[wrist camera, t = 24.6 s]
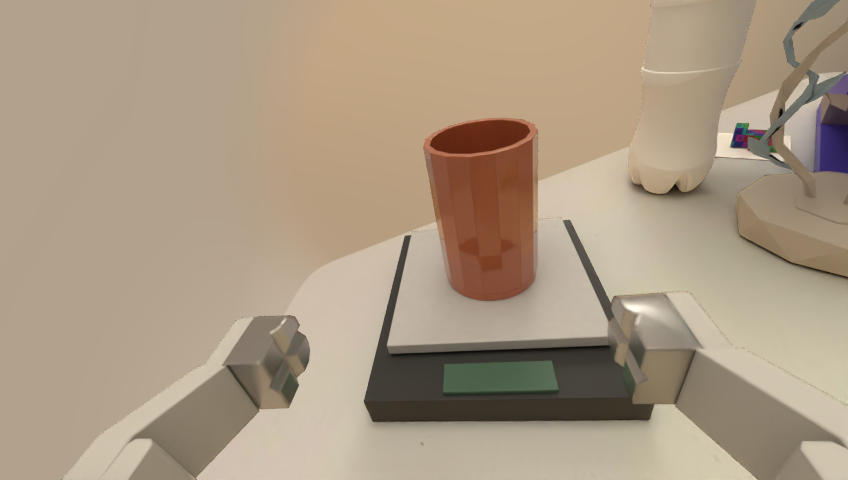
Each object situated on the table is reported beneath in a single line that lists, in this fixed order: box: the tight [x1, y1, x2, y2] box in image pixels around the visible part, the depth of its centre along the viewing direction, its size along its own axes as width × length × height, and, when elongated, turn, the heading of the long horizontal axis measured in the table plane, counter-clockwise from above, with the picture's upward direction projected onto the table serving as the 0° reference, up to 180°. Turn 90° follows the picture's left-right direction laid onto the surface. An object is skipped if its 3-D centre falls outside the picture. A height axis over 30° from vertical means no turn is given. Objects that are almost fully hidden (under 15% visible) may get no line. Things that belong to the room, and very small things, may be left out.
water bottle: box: [628, 0, 756, 194], centre depth 31 cm, size 7×7×25 cm
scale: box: [364, 217, 654, 421], centre depth 26 cm, size 15×17×3 cm
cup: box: [423, 118, 538, 301], centre depth 23 cm, size 6×6×10 cm
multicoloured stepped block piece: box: [729, 123, 777, 153], centre depth 40 cm, size 4×3×2 cm, turn 52°
